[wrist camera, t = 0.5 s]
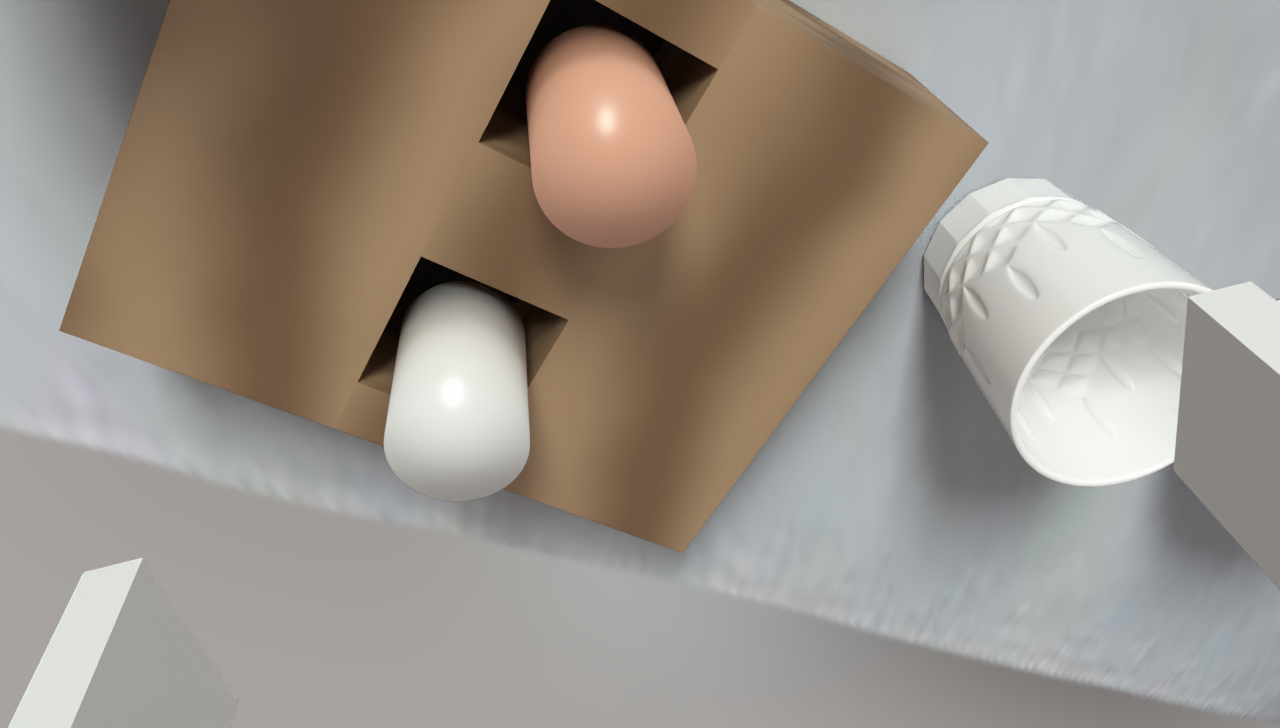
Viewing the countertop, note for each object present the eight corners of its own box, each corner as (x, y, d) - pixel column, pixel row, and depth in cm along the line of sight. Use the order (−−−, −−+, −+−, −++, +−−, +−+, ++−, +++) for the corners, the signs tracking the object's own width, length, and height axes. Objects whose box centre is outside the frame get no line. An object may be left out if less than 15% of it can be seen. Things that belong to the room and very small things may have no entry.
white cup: (905, 182, 39) (1016, 311, 31) (1106, 142, 39) (1272, 259, 31) (908, 354, 44) (1006, 508, 35) (1090, 317, 44) (1231, 462, 35)
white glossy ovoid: (381, 359, 34) (361, 473, 29) (431, 261, 32) (419, 364, 27) (492, 402, 35) (492, 518, 30) (546, 310, 33) (554, 417, 28)
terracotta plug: (501, 123, 30) (503, 206, 25) (565, -2, 28) (580, 60, 23) (620, 182, 31) (645, 272, 26) (688, 66, 30) (727, 139, 25)
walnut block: (129, 230, 37) (59, 330, 31) (313, -289, 29) (266, -288, 23) (658, 441, 44) (682, 552, 38) (910, 74, 37) (988, 142, 31)
